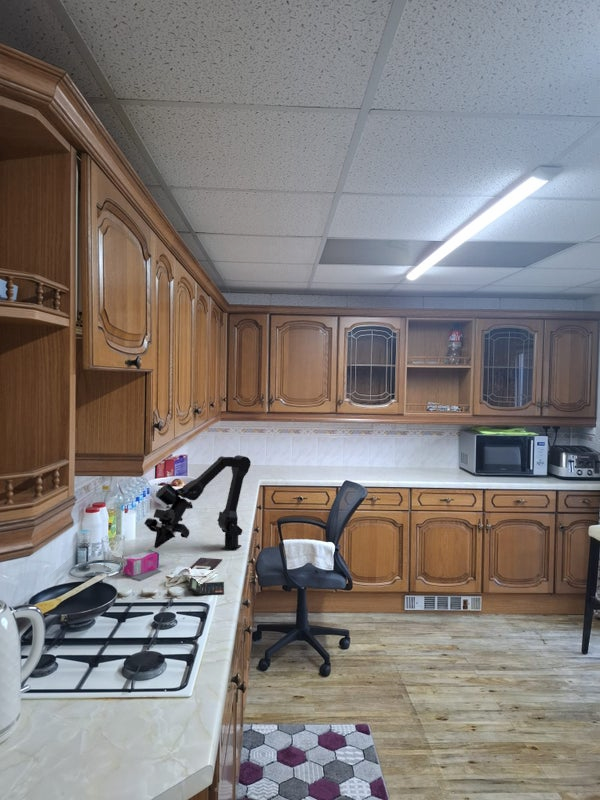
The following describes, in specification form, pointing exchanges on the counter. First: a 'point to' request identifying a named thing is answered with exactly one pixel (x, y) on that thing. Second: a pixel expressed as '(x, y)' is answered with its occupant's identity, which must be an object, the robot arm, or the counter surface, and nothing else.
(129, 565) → the supplement box
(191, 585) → the calculator
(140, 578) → the mat
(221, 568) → the counter surface
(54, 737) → the counter surface
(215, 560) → the chocolate bar
